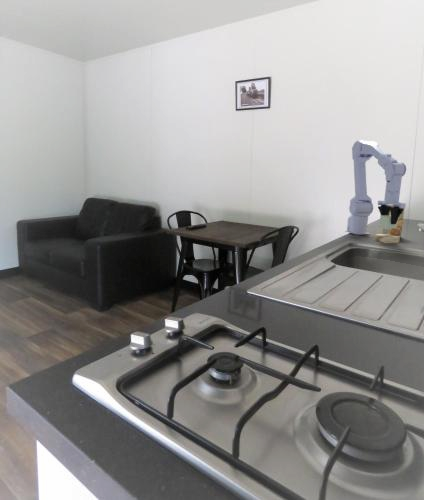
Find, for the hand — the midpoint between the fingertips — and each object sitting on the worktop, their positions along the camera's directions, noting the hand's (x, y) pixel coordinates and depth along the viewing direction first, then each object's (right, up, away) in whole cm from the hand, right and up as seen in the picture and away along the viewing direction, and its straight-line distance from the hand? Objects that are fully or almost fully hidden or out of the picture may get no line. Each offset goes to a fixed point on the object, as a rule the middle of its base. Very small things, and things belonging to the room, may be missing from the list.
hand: (388, 223), depth 164 cm
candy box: (+7, -6, +13) cm, 16 cm away
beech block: (0, -8, +2) cm, 8 cm away
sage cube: (0, -2, 0) cm, 2 cm away
